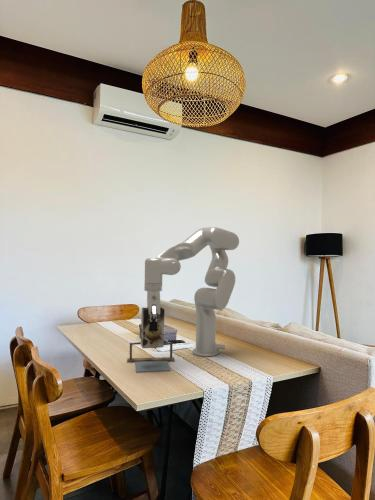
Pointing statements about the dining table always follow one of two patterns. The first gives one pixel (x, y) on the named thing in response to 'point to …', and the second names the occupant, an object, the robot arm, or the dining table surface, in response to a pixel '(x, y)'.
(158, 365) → the mat
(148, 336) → the coffee box
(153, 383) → the dining table surface
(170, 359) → the wire stand
